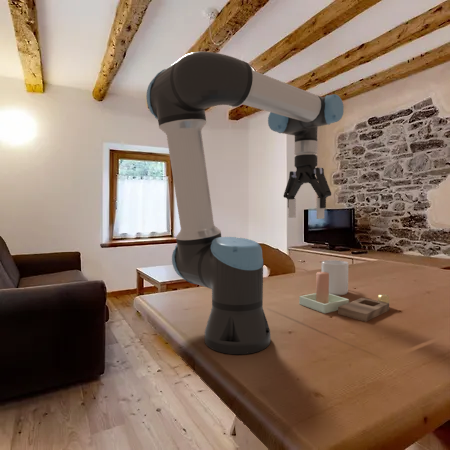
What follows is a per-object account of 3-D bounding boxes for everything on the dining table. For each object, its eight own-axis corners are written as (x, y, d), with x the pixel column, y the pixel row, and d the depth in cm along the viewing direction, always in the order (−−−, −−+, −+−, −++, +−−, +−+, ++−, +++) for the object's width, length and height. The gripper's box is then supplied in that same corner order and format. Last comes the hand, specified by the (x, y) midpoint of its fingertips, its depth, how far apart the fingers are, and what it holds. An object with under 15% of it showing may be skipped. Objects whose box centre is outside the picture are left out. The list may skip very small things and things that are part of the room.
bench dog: (384, 310, 94) (385, 297, 94) (375, 308, 97) (375, 295, 97) (391, 309, 96) (391, 296, 96) (381, 306, 99) (382, 293, 98)
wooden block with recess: (365, 325, 85) (366, 314, 84) (337, 317, 91) (338, 306, 90) (389, 313, 94) (389, 303, 93) (362, 307, 100) (362, 297, 99)
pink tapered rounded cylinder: (322, 308, 95) (322, 275, 94) (313, 304, 99) (313, 272, 98) (331, 306, 97) (331, 273, 96) (322, 302, 100) (322, 271, 99)
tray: (324, 315, 91) (324, 304, 91) (299, 305, 100) (299, 296, 100) (348, 309, 96) (349, 299, 96) (322, 300, 105) (323, 291, 105)
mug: (342, 298, 108) (343, 265, 107) (317, 294, 113) (317, 262, 113) (354, 291, 117) (354, 260, 116) (330, 287, 122) (330, 258, 122)
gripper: (343, 150, 100) (342, 218, 101) (289, 160, 122) (289, 216, 123) (326, 148, 96) (325, 219, 98) (273, 159, 118) (273, 217, 119)
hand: (305, 218), depth 110 cm, fingers open, 13 cm apart
